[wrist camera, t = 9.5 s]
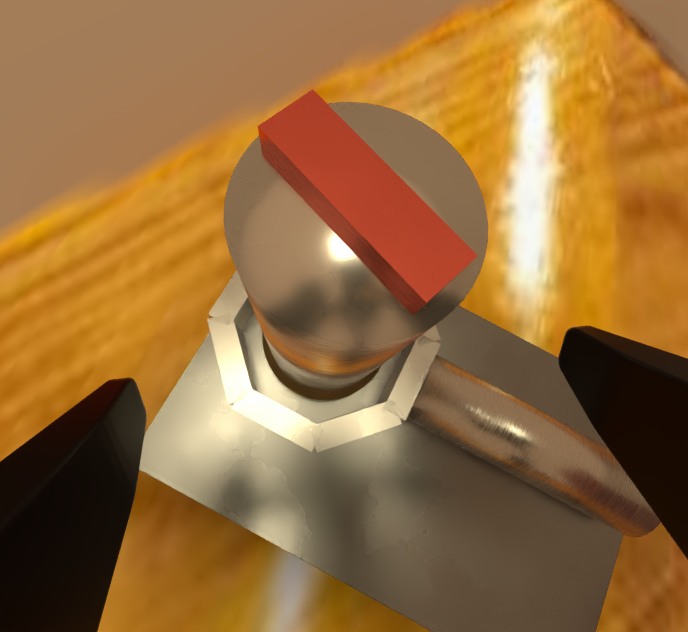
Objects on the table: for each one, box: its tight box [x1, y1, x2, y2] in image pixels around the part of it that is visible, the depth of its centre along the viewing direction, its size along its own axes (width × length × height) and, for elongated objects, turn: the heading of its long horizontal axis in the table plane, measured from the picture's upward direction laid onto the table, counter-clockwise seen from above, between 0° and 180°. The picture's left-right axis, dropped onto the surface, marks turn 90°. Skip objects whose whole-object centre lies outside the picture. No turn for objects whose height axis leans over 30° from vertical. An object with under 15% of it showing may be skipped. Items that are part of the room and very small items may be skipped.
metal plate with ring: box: [139, 270, 661, 632], centre depth 18 cm, size 21×13×4 cm, turn 63°
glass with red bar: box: [224, 90, 488, 402], centre depth 13 cm, size 5×5×13 cm
